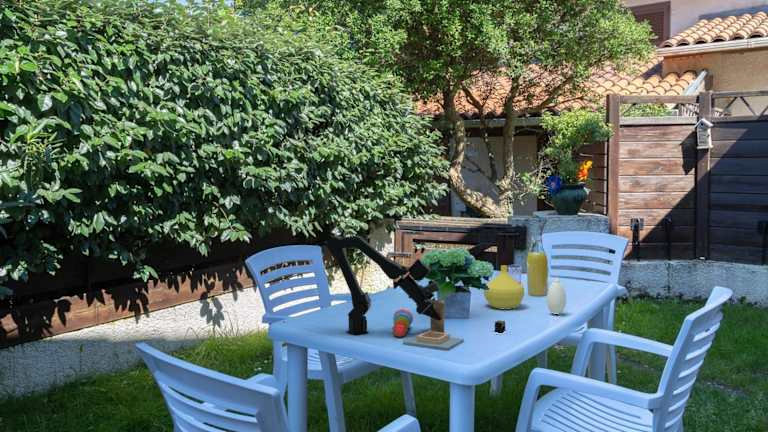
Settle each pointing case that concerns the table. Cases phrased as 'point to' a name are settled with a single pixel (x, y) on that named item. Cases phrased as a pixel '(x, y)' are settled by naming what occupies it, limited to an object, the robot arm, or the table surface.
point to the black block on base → (500, 326)
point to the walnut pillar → (439, 307)
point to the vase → (504, 291)
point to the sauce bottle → (556, 297)
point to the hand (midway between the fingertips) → (441, 318)
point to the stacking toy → (402, 321)
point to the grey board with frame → (434, 340)
